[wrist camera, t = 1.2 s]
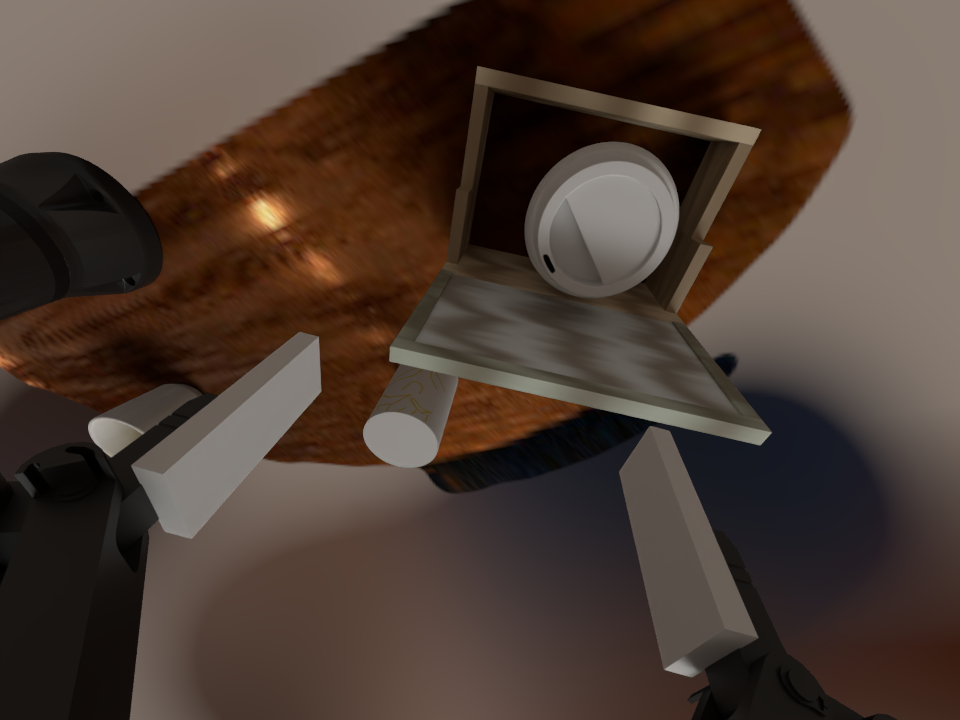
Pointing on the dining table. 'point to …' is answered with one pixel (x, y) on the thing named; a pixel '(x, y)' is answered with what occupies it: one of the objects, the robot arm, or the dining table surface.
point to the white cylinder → (410, 417)
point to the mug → (138, 416)
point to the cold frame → (584, 321)
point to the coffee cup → (602, 220)
